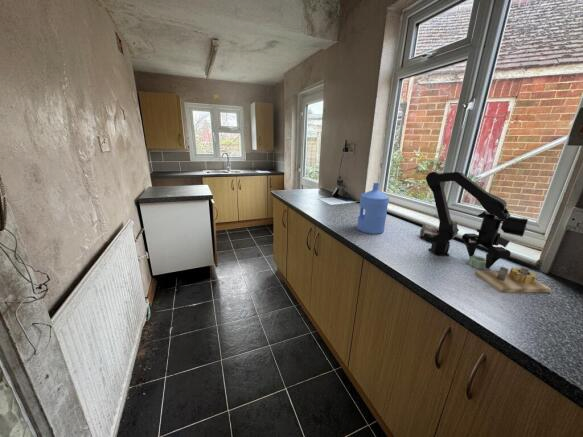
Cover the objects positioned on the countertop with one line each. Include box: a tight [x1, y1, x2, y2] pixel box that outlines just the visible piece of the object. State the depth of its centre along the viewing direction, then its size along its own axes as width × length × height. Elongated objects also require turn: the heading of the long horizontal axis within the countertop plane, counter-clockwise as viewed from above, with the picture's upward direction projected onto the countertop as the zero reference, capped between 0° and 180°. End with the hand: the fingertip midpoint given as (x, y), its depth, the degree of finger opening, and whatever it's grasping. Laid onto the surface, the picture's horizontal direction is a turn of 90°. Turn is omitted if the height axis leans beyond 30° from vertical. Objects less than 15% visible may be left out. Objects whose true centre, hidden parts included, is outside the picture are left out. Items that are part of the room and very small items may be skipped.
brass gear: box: [509, 267, 538, 284], centre depth 88 cm, size 7×7×3 cm
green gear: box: [467, 254, 487, 270], centre depth 101 cm, size 7×7×3 cm
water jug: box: [356, 182, 390, 235], centre depth 136 cm, size 16×16×28 cm
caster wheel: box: [419, 223, 439, 243], centre depth 128 cm, size 7×11×10 cm
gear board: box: [474, 266, 552, 293], centre depth 88 cm, size 18×12×6 cm, turn 91°
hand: (478, 262), depth 101 cm, fingers open, 9 cm apart
